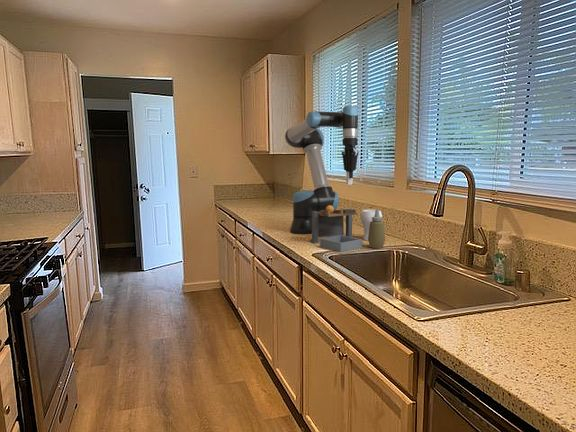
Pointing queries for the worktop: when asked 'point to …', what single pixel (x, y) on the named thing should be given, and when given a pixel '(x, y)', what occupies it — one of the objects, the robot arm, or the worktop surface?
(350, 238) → the tray
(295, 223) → the robot arm
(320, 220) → the tipping lever
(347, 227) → the lever stand
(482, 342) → the worktop surface
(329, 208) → the ball
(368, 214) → the cup
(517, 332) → the worktop surface
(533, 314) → the worktop surface
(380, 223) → the squeeze bottle
